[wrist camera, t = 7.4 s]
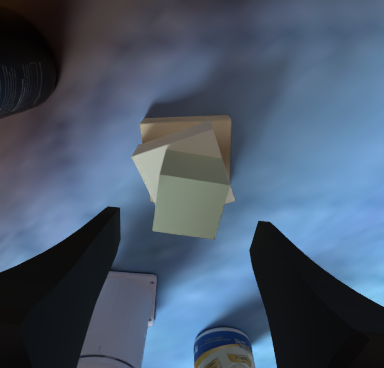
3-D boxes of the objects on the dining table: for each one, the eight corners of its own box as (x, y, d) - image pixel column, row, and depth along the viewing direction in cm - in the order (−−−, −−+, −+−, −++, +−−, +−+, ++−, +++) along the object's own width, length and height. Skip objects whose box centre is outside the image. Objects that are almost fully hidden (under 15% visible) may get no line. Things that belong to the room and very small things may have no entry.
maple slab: (225, 185, 24) (228, 198, 22) (154, 188, 24) (150, 201, 22) (227, 113, 21) (231, 120, 19) (145, 116, 21) (139, 123, 19)
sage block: (210, 205, 19) (214, 239, 16) (159, 197, 19) (152, 230, 15) (222, 158, 17) (230, 185, 14) (166, 149, 17) (159, 174, 13)
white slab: (230, 185, 21) (235, 200, 19) (166, 204, 22) (163, 221, 20) (210, 120, 19) (212, 129, 16) (138, 145, 19) (131, 156, 17)
